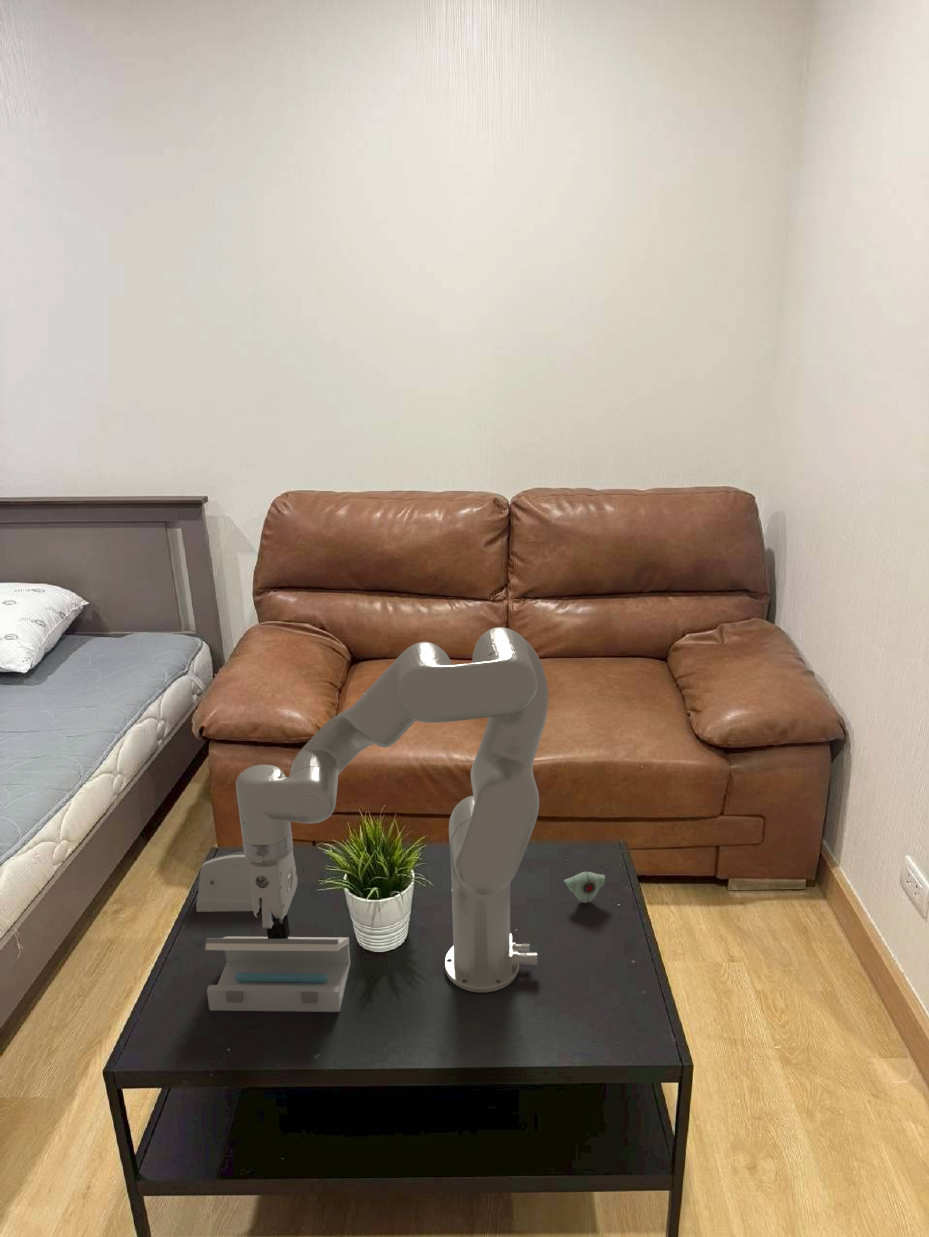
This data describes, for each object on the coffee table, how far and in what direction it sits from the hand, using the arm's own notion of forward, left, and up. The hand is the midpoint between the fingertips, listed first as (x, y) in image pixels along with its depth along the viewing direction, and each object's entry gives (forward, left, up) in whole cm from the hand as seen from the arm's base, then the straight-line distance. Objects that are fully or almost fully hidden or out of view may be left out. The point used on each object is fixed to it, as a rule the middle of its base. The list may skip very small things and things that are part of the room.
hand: (279, 937), depth 146 cm
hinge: (+13, -22, -9) cm, 27 cm away
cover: (0, 0, -2) cm, 2 cm away
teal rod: (0, +1, -8) cm, 8 cm away
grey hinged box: (0, +1, -9) cm, 9 cm away
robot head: (-52, -21, -9) cm, 57 cm away
